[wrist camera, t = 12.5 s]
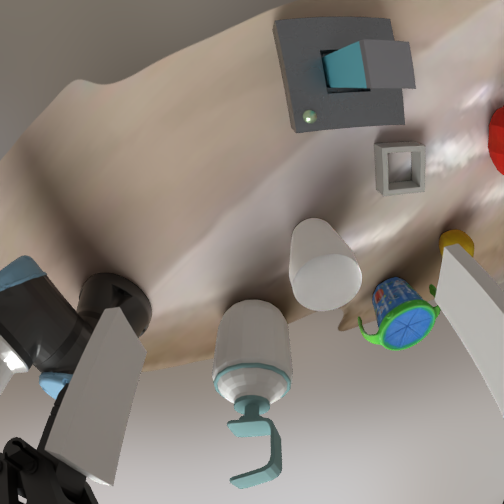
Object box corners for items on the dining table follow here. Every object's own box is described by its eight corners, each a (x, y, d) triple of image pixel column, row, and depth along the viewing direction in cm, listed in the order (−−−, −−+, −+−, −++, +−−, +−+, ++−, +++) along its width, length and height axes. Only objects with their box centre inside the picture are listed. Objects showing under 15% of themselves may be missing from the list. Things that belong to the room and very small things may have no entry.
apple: (458, 246, 45) (480, 270, 38) (432, 256, 47) (452, 282, 40) (459, 216, 42) (484, 238, 35) (431, 226, 44) (454, 250, 37)
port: (291, 127, 37) (296, 133, 32) (272, 29, 30) (275, 20, 25) (387, 119, 35) (406, 124, 30) (373, 26, 28) (390, 18, 23)
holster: (376, 189, 41) (383, 196, 38) (373, 143, 37) (381, 148, 35) (415, 184, 40) (424, 191, 37) (415, 141, 36) (425, 145, 34)
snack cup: (425, 256, 47) (451, 291, 38) (424, 298, 52) (445, 333, 43) (347, 283, 50) (362, 323, 41) (354, 322, 55) (367, 362, 46)
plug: (323, 87, 33) (371, 88, 18) (318, 59, 31) (363, 39, 16) (352, 85, 32) (415, 88, 18) (348, 57, 30) (409, 42, 16)
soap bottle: (210, 299, 52) (181, 472, 25) (280, 285, 50) (294, 469, 23) (231, 344, 58) (219, 494, 31) (292, 334, 56) (306, 489, 29)
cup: (327, 200, 42) (349, 239, 32) (348, 246, 46) (371, 293, 36) (273, 227, 44) (277, 273, 34) (299, 270, 48) (309, 321, 38)
